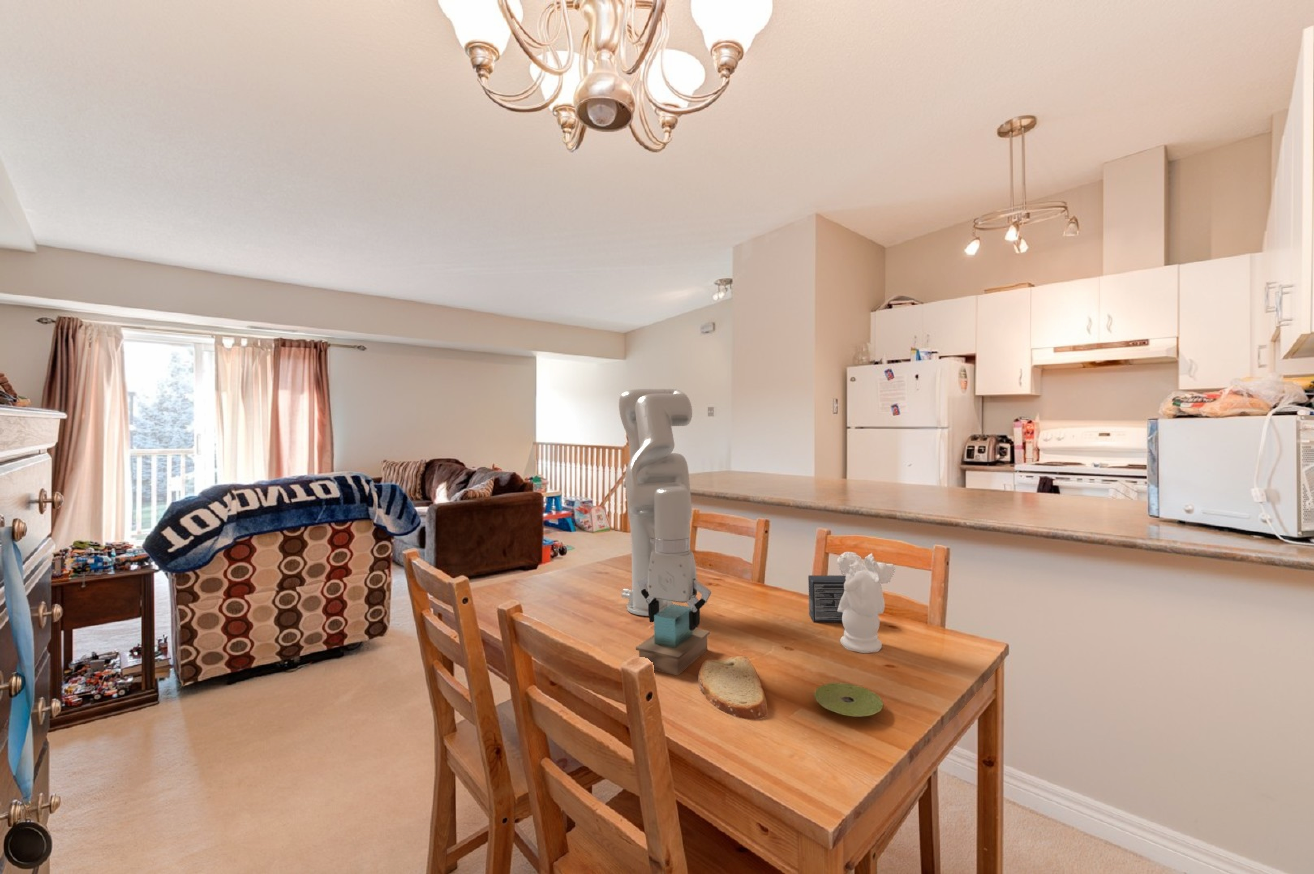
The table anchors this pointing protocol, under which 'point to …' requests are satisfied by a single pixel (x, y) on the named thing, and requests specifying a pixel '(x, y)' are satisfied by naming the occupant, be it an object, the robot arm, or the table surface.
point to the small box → (825, 597)
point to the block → (672, 626)
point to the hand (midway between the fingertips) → (673, 624)
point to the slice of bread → (733, 687)
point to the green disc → (848, 699)
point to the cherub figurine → (862, 601)
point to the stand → (674, 652)
